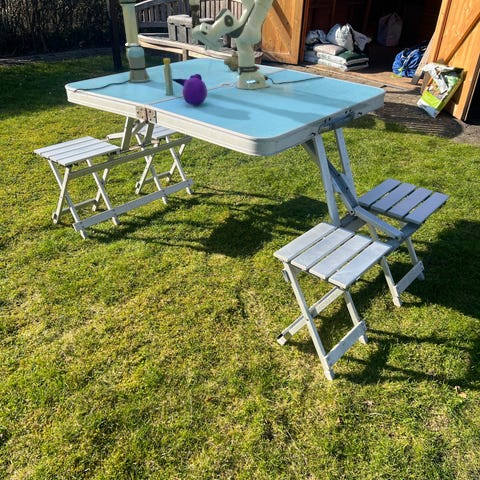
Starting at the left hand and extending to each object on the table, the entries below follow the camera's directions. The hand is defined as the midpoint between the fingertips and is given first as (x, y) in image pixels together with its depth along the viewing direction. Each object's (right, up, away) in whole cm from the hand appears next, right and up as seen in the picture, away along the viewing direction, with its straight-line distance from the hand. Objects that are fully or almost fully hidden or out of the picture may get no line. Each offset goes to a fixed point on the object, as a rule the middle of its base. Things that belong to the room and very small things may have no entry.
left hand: (196, 35), depth 349 cm
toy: (+4, -75, -72) cm, 104 cm away
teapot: (+30, -20, +21) cm, 42 cm away
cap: (-13, -43, -61) cm, 76 cm away
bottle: (-13, -62, -50) cm, 81 cm away
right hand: (+8, -34, -62) cm, 71 cm away
